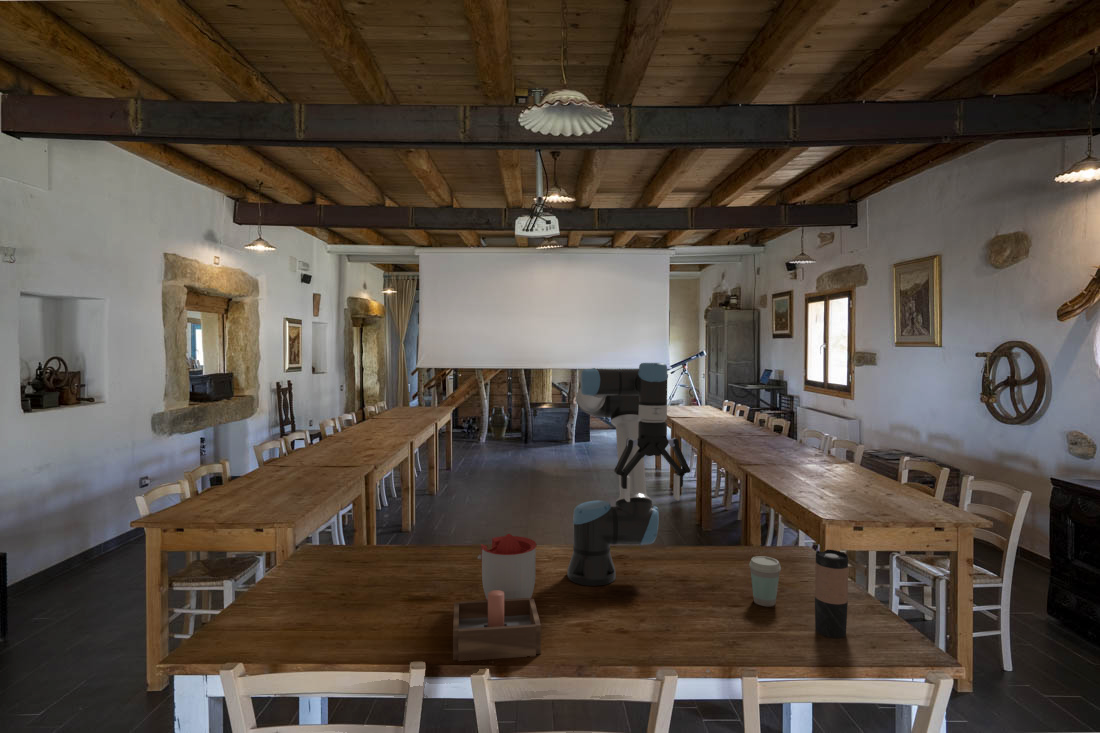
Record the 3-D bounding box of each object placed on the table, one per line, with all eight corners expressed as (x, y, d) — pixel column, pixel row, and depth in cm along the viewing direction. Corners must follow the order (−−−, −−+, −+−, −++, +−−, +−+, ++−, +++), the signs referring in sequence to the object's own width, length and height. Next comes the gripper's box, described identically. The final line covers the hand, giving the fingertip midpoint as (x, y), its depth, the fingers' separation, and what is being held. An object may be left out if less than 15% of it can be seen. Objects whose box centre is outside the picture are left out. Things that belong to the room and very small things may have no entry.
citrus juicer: (494, 588, 181) (494, 522, 180) (545, 598, 173) (546, 529, 173) (464, 608, 167) (464, 536, 166) (519, 620, 159) (519, 545, 159)
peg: (487, 638, 149) (487, 590, 149) (503, 637, 150) (503, 589, 150) (488, 646, 145) (488, 597, 145) (504, 645, 146) (504, 596, 146)
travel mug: (845, 641, 148) (846, 561, 148) (811, 633, 152) (813, 555, 152) (848, 629, 155) (850, 552, 154) (816, 622, 159) (817, 547, 158)
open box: (454, 628, 154) (454, 601, 154) (533, 624, 157) (533, 597, 157) (453, 661, 138) (453, 631, 138) (541, 655, 141) (541, 626, 141)
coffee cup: (783, 609, 166) (783, 567, 166) (750, 607, 168) (751, 564, 168) (777, 597, 175) (778, 556, 174) (747, 594, 176) (747, 554, 176)
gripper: (610, 423, 154) (609, 505, 155) (702, 421, 158) (702, 501, 159) (603, 419, 162) (603, 497, 163) (692, 418, 165) (691, 495, 166)
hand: (652, 500), depth 161 cm, fingers open, 13 cm apart
